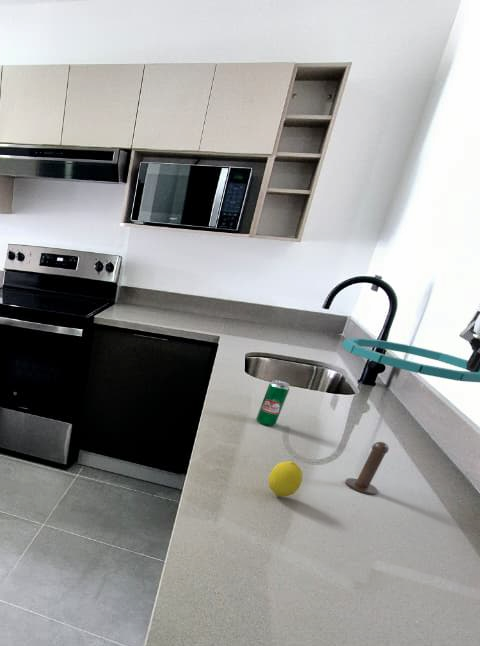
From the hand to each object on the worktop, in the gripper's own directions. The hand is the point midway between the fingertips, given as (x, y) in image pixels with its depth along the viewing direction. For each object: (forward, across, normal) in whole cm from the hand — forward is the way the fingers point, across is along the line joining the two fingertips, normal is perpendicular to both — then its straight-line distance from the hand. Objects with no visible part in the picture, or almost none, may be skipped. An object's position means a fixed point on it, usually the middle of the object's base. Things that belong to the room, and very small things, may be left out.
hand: (477, 371), depth 104 cm
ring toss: (+27, -15, -11) cm, 33 cm away
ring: (0, -12, 0) cm, 12 cm away
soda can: (+27, -30, +20) cm, 45 cm away
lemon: (+27, -34, -26) cm, 51 cm away
